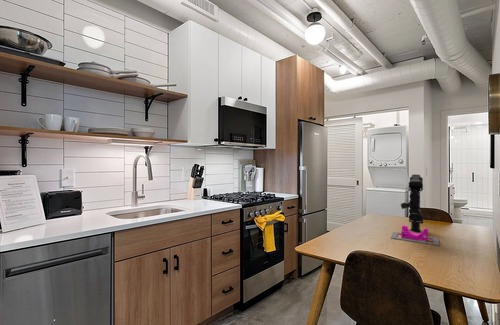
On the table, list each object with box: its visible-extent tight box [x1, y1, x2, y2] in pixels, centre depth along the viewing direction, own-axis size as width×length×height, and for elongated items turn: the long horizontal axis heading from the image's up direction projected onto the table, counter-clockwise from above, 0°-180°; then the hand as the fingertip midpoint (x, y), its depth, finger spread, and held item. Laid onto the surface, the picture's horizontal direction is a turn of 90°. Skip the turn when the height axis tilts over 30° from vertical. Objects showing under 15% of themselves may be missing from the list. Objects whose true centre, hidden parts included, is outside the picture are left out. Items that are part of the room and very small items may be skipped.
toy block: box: [400, 224, 429, 242], centre depth 179 cm, size 15×6×8 cm, turn 52°
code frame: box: [390, 231, 440, 247], centre depth 179 cm, size 18×27×1 cm, turn 56°
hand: (414, 221), depth 179 cm, fingers open, 9 cm apart
